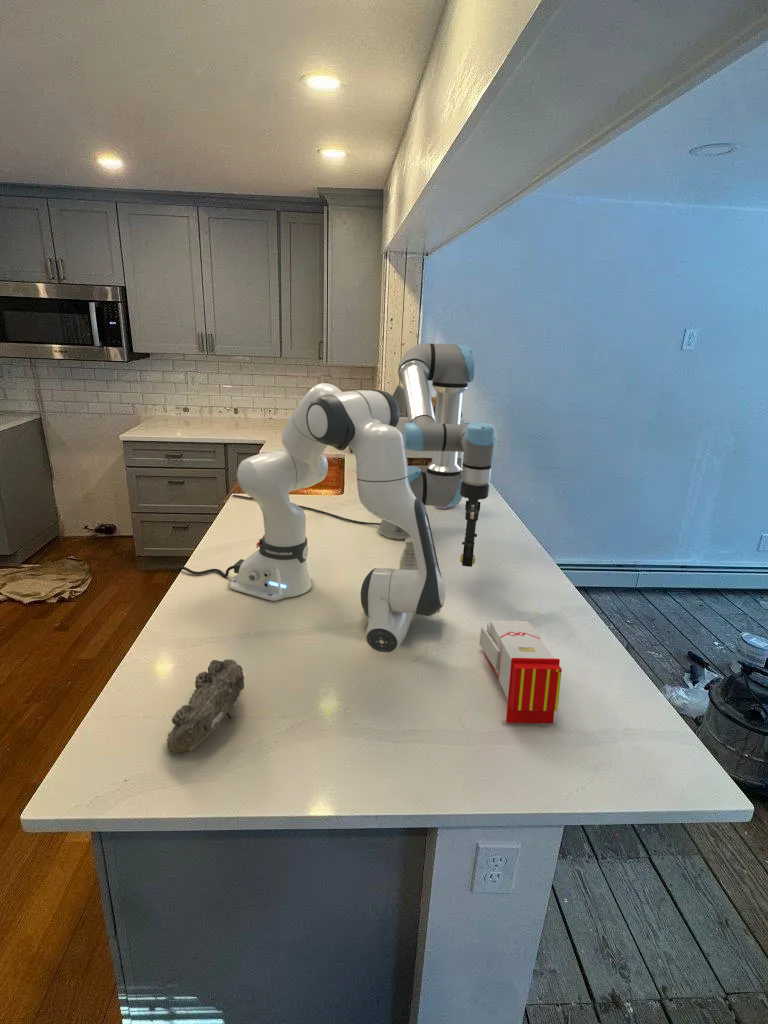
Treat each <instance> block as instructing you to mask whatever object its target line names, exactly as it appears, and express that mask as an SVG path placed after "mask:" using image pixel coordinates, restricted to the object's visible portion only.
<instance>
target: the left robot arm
mask: <svg viewBox="0 0 768 1024" xmlns="http://www.w3.org/2000/svg"><path fill="white" fill-rule="evenodd" d="M398 421H399V407H398V404H397V402H396V400H395V398H394V397H393V394H391V393H389V392H387V391H384V390H380V389H370V390H367V389H356V390H354V389H353V390H349V391H342V390H341V389H340V388H339V387H337V386H336V385H334V384H332V383H327V382H321V383H317V384H316V385H314V386H312V387H311V388H310V389H309V390H308V392H307V393H306V394H305V395H304V396H303V397H302V398H301V399H300V401H299V403H297V405H296V407H294V410H293V412H292V414H291V415H290V417H289V419H288V421H287V422H286V423H285V425H284V427H283V429H282V431H281V442H282V445H283V447H284V448H283V449H280V450H279V449H278V450H274V451H268V452H262V453H257V454H254V455H252V456H249V457H247V458H245V459H243V460H242V461H241V462H240V463H239V465H238V467H237V471H236V480H237V483H238V486H239V488H240V489H241V490H242V492H243V493H244V494H246V495H247V497H251V498H253V499H254V501H255V502H256V503H257V504H258V506H259V509H260V510H261V513H262V518H263V528H264V530H263V531H264V534H263V535H262V537H261V538H260V539H259V540H258V542H257V543H256V544H255V545H256V546H255V547H256V549H257V548H259V549H258V550H255V552H253V553H252V554H250V555H249V556H248V557H246V558H245V559H241V558H240V559H239V560H238V561H236V562H235V563H234V564H233V565H230V566H229V567H227V568H226V570H225V572H223V571H222V570H221V569H218V568H209V569H205V570H201V571H196V570H195V571H194V570H192V569H190V568H188V567H186V566H183V565H181V566H179V567H177V568H176V571H177V572H179V571H181V570H184V571H186V572H187V573H189V574H191V575H196V576H197V575H205V574H210V573H218V574H220V576H221V577H223V578H226V577H228V576H229V574H230V571H231V570H233V573H234V574H235V575H234V576H233V577H232V579H231V581H230V583H229V585H230V586H229V589H231V590H234V591H237V592H240V593H244V594H247V595H251V596H253V597H257V598H261V599H265V600H266V601H267V600H268V601H271V602H276V601H280V600H283V599H285V598H286V599H287V598H294V597H297V596H301V595H303V594H305V593H307V592H309V590H311V588H312V586H313V583H312V580H311V576H310V573H309V567H308V554H309V546H308V538H307V535H306V534H307V527H306V526H307V525H306V524H307V523H306V522H307V521H306V520H307V519H306V517H307V515H306V513H305V511H304V510H303V508H301V507H300V506H301V505H300V506H298V505H299V504H296V503H294V502H292V501H291V500H290V492H293V491H298V490H303V489H307V488H310V487H314V486H315V485H316V484H319V483H321V482H322V481H324V480H325V479H326V477H327V475H328V473H329V463H328V462H329V461H328V459H327V457H326V455H325V453H324V452H325V450H326V449H327V447H328V446H329V447H333V448H335V450H337V451H340V452H341V451H344V450H346V449H347V448H349V447H350V448H351V449H352V450H353V451H352V453H353V454H354V457H355V461H356V462H355V463H356V485H357V494H358V498H359V501H360V502H359V503H360V504H361V505H362V506H363V507H364V509H365V510H366V511H367V512H368V513H370V514H371V515H372V516H374V517H376V518H378V519H380V520H381V521H382V520H385V521H388V522H390V523H393V524H395V525H397V526H399V527H400V528H402V529H404V530H405V531H406V532H407V533H408V534H409V535H410V536H411V538H412V541H413V545H414V550H415V555H416V559H417V564H418V569H419V570H404V569H399V568H392V567H391V568H389V567H375V568H372V569H371V570H370V571H369V572H368V573H367V575H366V576H365V578H364V579H363V581H362V584H361V587H360V604H361V608H362V610H363V613H364V614H365V616H366V617H367V618H368V619H367V620H368V621H367V626H366V631H365V641H366V643H367V644H368V646H369V647H370V648H371V649H373V650H375V652H376V651H377V652H380V653H392V652H394V651H396V650H397V649H398V648H399V647H400V646H401V644H402V643H403V642H404V640H405V637H406V636H407V633H408V631H409V628H410V625H411V624H412V622H413V619H414V616H415V615H419V616H425V617H431V616H433V615H436V614H439V613H441V612H442V608H443V607H444V605H445V600H446V587H445V582H444V581H443V577H442V572H441V570H440V567H439V562H438V557H437V552H436V548H435V547H436V546H435V542H434V537H433V531H432V526H431V522H430V519H429V515H428V512H427V508H426V505H424V504H423V502H422V501H420V500H419V499H417V498H416V497H415V495H414V494H413V492H412V490H411V488H410V485H409V480H408V465H407V456H406V450H405V445H404V441H403V437H402V434H401V432H400V431H399V430H398V429H397V428H395V427H396V426H397V424H398ZM348 446H349V447H348Z"/></svg>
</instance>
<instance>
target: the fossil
mask: <svg viewBox="0 0 768 1024" xmlns="http://www.w3.org/2000/svg"><path fill="white" fill-rule="evenodd" d="M243 670H244V669H243V667H242V665H240V664H237V662H236V661H235V660H234V659H232V658H231V659H227V658H226V659H224V660H223V661H222V660H217V659H212V660H211V661H210V663H209V665H208V666H207V671H201V672H199V673H198V674H197V675H196V676H195V680H194V684H195V685H194V687H195V689H194V690H193V693H192V694H191V697H190V698H189V700H188V704H184V705H182V706H181V707H180V709H177V710H176V711H175V713H174V715H173V716H172V718H171V723H172V724H173V727H172V730H171V731H170V732H168V734H167V738H166V741H167V742H166V745H167V749H168V750H169V751H173V752H174V753H176V754H178V753H182V752H188V751H189V752H192V751H193V750H195V748H196V747H197V746H199V744H200V743H201V742H203V741H204V740H205V739H206V738H207V737H208V736H209V735H210V734H211V733H212V732H214V730H215V729H217V727H218V726H219V724H220V722H221V721H222V720H223V719H224V718H225V716H226V717H227V719H229V720H233V717H232V715H230V714H229V710H230V709H231V708H234V706H235V704H236V703H237V702H238V699H239V697H240V695H241V693H242V691H243V690H245V689H244V688H245V675H244V671H243Z"/></svg>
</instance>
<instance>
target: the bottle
mask: <svg viewBox="0 0 768 1024" xmlns="http://www.w3.org/2000/svg"><path fill="white" fill-rule="evenodd" d="M404 541H405V545H404V548H403V550H402V553H401V556H400V559H399V568H398V569H404V570H419V569H418V564H417V559H416V555H415V550H414V545H413V541H412V538H407V539H406V540H404Z"/></svg>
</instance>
